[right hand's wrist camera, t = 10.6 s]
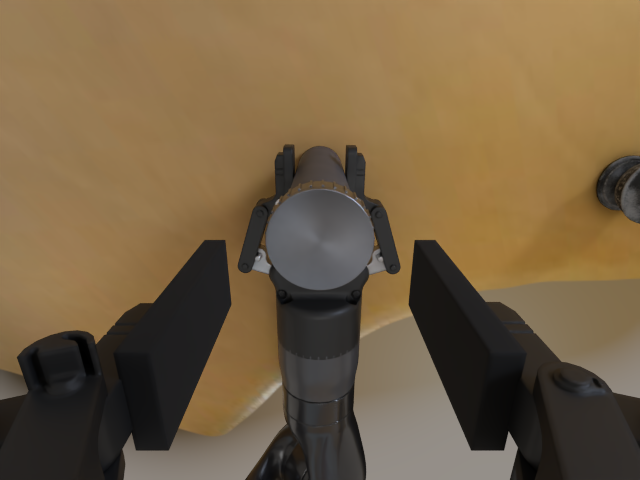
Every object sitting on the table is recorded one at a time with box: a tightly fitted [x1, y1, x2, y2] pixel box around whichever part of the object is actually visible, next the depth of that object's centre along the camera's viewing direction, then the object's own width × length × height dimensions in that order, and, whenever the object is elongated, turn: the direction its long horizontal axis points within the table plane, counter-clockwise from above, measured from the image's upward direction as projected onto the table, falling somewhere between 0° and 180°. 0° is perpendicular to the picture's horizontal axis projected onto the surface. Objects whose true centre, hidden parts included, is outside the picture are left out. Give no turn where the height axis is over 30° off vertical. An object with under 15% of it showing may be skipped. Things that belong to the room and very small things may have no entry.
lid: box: [265, 180, 375, 290], centre depth 18 cm, size 5×5×2 cm
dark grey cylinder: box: [291, 146, 350, 190], centre depth 27 cm, size 4×4×19 cm
